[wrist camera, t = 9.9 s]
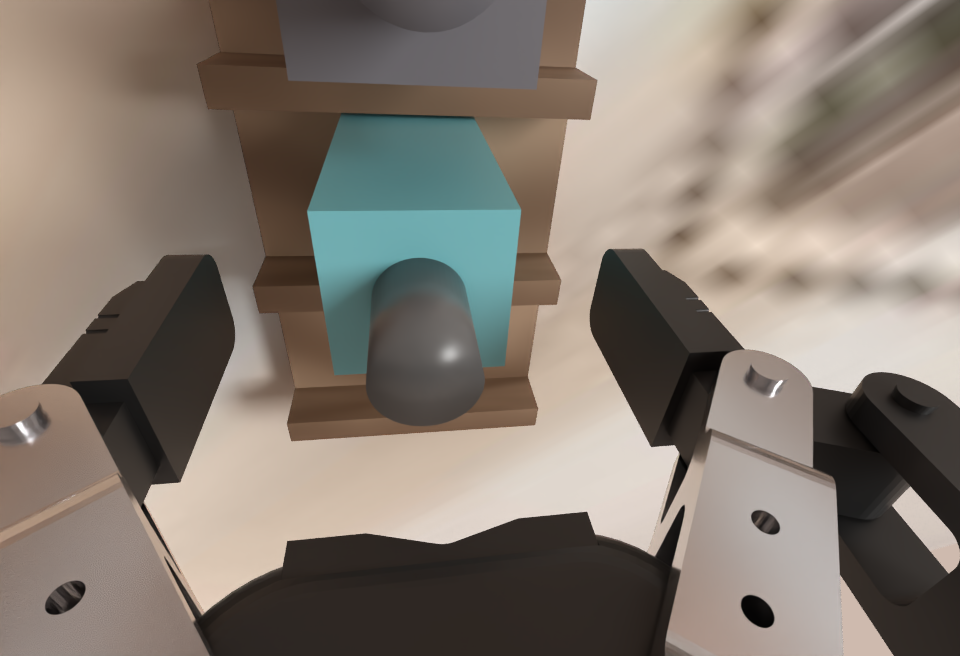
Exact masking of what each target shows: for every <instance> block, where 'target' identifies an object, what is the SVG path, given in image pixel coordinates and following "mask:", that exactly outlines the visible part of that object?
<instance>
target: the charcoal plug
mask: <svg viewBox="0 0 960 656" xmlns="http://www.w3.org/2000/svg"><path fill="white" fill-rule="evenodd" d="M276 4H277V11H278V17H279V24H280V30H281V37H282V43H283V49H284V56H285V62H286V69H287V75H288V81H313V82H341V83H368V84H395V85H423V86H450V87H477V88H505V89H532V90H537V82H538V73H539V65H540V56H541V47H542V39H543V30H544V21H545V13H546V4H547V0H276Z"/></svg>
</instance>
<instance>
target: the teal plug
mask: <svg viewBox="0 0 960 656" xmlns="http://www.w3.org/2000/svg"><path fill="white" fill-rule="evenodd" d="M307 213H308V219H309V225H310V231H311V238H312V244H313V250H314V256H315V262H316V268H317V274H318V280H319V286H320V292H321V298H322V304H323V310H324V316H325V322H326V328H327V334H328V340H329V346H330V352H331V358H332V364H333V370H334V375H349V374H366V392H367V396H368V398H369V400H370V402H371V404H372V405H373V406H374V408H375V409H376V410H377V411H378V412H379V413H381V414H382V415H383V416H385V417H386V418H388V419H390V420H392V421H395V422H398V423H401V424H405V425H410V426H433V425H439V424H443V423H446V422H449V421H451V420H454V419H456V418H458V417H460V416H462V415H463V414H465V413H466V412H467V411H468V410H470V409H471V408H472V407H473V406H474V405H475V404H476V402H477V401H478V400H479V398H480V396H481V394H482V392H483V389H484V384H485V376H484V371H483V367H498V366H505V359H506V349H507V340H508V330H509V321H510V312H511V302H512V293H513V283H514V274H515V264H516V255H517V246H518V236H519V227H520V217H521V208H520V206H519V204H518V202H517V200H516V198H515V196H514V194H513V192H512V191H511V189H510V187H509V185H508V183H507V181H506V179H505V177H504V175H503V173H502V171H501V169H500V167H499V165H498V163H497V161H496V159H495V157H494V155H493V154H492V152H491V150H490V148H489V146H488V144H487V142H486V140H485V138H484V136H483V134H482V132H481V130H480V128H479V126H478V124H477V122H476V120H475V118H474V117H473V116H437V115H401V114H365V113H341V116H340V119H339V122H338V124H337V127H336V130H335V133H334V136H333V139H332V142H331V144H330V147H329V150H328V153H327V156H326V159H325V162H324V164H323V167H322V170H321V173H320V176H319V179H318V182H317V184H316V187H315V190H314V193H313V196H312V199H311V202H310V205H309V207H308V210H307Z"/></svg>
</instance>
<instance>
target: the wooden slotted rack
mask: <svg viewBox="0 0 960 656" xmlns="http://www.w3.org/2000/svg"><path fill="white" fill-rule="evenodd" d="M209 3H210V8H211V12H212V17H213V21H214V26H215V30H216V35H217V39H218V44H219V48H220V52H219V53H217V54H216V55H214V56H212V57H210V58H208V59H206V60H204V61H202V62H200V63H198V64H197V67H198V71H199V75H200V79H201V83H202V87H203V91H204V95H205V99H206V103H207V107H208V109H221V110H233V111H234V116H235V120H236V125H237V129H238V134H239V138H240V143H241V147H242V152H243V156H244V160H245V165H246V169H247V174H248V178H249V183H250V187H251V192H252V196H253V201H254V205H255V210H256V214H257V219H258V223H259V228H260V232H261V237H262V241H263V246H264V250H265V255H266V257H265V260H264V262H263V264H262V267H261V269H260V271H259V273H258V276H257V278H256V280H255V283H254V285H253V290H254V294H255V298H256V302H257V306H258V310H259V313H279V318H280V322H281V326H282V331H283V335H284V340H285V344H286V349H287V353H288V358H289V362H290V367H291V371H292V376H293V380H294V385H295V392H294V396H293V400H292V405H291V409H290V413H289V417H288V422H287V426H288V430H289V434H290V438H291V441H302V440H317V439H332V438H347V437H362V436H377V435H392V434H407V433H423V432H438V431H453V430H468V429H483V428H498V427H513V426H528V425H535V423H536V417H537V411H538V407H537V404H536V401H535V398H534V394H533V391H532V388H531V385H530V382H529V379H528V371H529V365H530V358H531V352H532V345H533V339H534V332H535V326H536V319H537V313H538V306H539V305H556V304H557V301H558V295H559V290H560V284H561V279H560V277H559V275H558V273H557V271H556V269H555V267H554V265H553V264H552V262H551V260H550V258H549V256H548V254H547V248H548V242H549V235H550V229H551V222H552V216H553V209H554V203H555V197H556V190H557V184H558V177H559V171H560V164H561V158H562V151H563V145H564V138H565V132H566V125H567V119H581V120H590V118H591V113H592V107H593V102H594V96H595V91H596V85H597V80H596V79H594V78H592V77H591V76H589V75H587V74H586V73H584V72H582V71H580V70H579V69H577V68H575V67H576V61H577V54H578V48H579V41H580V35H581V29H582V22H583V16H584V9H585V3H586V0H547V4H546V13H545V21H544V30H543V39H542V47H541V56H540V65H539V73H538V82H537V90H532V89H505V88H477V87H450V86H423V85H395V84H368V83H341V82H313V81H288V75H287V69H286V62H285V56H284V49H283V43H282V37H281V30H280V24H279V17H278V11H277V4H276V0H209ZM341 113H365V114H401V115H437V116H473V117H474V118H475V120H476V122H477V124H478V126H479V128H480V130H481V132H482V134H483V136H484V138H485V140H486V142H487V144H488V146H489V148H490V150H491V152H492V154H493V155H494V157H495V159H496V161H497V163H498V165H499V167H500V169H501V171H502V173H503V175H504V177H505V179H506V181H507V183H508V185H509V187H510V189H511V191H512V192H513V194H514V196H515V198H516V200H517V202H518V204H519V206H520V208H521V217H520V227H519V236H518V246H517V255H516V264H515V274H514V283H513V293H512V302H511V312H510V321H509V330H508V340H507V349H506V359H505V366H498V367H483V371H484V376H485V384H484V389H483V392H482V394H481V396H480V398H479V400H478V401H477V402H476V404H475V405H474V406H473V407H472V408H471V409H470V410H468V411H467V412H466V413H465V414H463V415H462V416H460V417H458V418H456V419H454V420H451V421H449V422H446V423H443V424H439V425H433V426H410V425H405V424H401V423H398V422H395V421H392V420H390V419H388V418H386V417H385V416H383V415H382V414H381V413H379V412H378V411H377V410H376V409H375V408H374V406H373V405H372V404H371V402H370V400H369V398H368V396H367V392H366V374H349V375H334V370H333V364H332V358H331V352H330V346H329V340H328V334H327V328H326V322H325V316H324V310H323V304H322V298H321V292H320V286H319V280H318V274H317V268H316V262H315V256H314V250H313V244H312V238H311V231H310V225H309V219H308V213H307V210H308V207H309V205H310V202H311V199H312V196H313V193H314V190H315V187H316V184H317V182H318V179H319V176H320V173H321V170H322V167H323V164H324V162H325V159H326V156H327V153H328V150H329V147H330V144H331V142H332V139H333V136H334V133H335V130H336V127H337V124H338V122H339V119H340V116H341Z"/></svg>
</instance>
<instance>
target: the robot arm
mask: <svg viewBox="0 0 960 656" xmlns="http://www.w3.org/2000/svg"><path fill="white" fill-rule="evenodd" d="M590 327H591V331H592V334H593V337H594V339H595V341H596V342H597V344H598V346H599V348H600V350H601V352H602V354H603V356H604V358H605V360H606V362H607V363H608V365H609V367H610V369H611V371H612V373H613V375H614V377H615V379H616V381H617V383H618V385H619V386H620V388H621V390H622V392H623V394H624V396H625V398H626V400H627V402H628V404H629V406H630V407H631V409H632V411H633V413H634V415H635V417H636V419H637V421H638V423H639V425H640V427H641V428H642V430H643V432H644V434H645V436H646V438H647V440H648V442H649V444H650V446H651V447H657V446H669V445H675V446H676V448H677V450H678V451H679V454H678V456H677V458H676V460H675V463H674V465H673V469H672V472H671V475H670V479H669V482H668V486H667V489H666V493H665V496H664V499H663V503H662V506H661V510H660V513H659V517H658V520H657V523H656V527H655V530H654V534H653V537H652V540H651V543H650V546H649V548H648V551H647V552H645V551H643V550H641V549H639V548H637V547H635V546H632V545H630V544H627V543H625V542H622V541H620V540H616V539H612V538H609V537H605V536H601V535H595V533H594V530H593V528H592V525H591V522H590V519H589V516H588V513H587V512H580V513H570V514H560V515H550V516H540V517H529V518H519V519H516V520H513V521H510V522H508V523H505V524H502V525H499V526H497V527H494V528H491V529H489V530H486V531H483V532H480V533H478V534H475V535H472V536H469V537H467V538H464V539H461V540H459V541H456V542H453V543H449V544H434V543H427V542H420V541H414V540H407V539H400V538H393V537H386V536H380V535H373V534H356V535H346V536H335V537H325V538H315V539H305V540H295V541H287V546H286V552H285V557H284V563H283V567H281V568H278V569H275V570H273V571H270V572H268V573H266V574H264V575H262V576H260V577H258V578H256V579H253V580H251V581H250V582H248V583H246V584H245V585H243V586H241V587H240V588H238V589H236V590H235V591H233V592H231V593H230V594H229V595H227V596H226V597H225V598H223V599H222V600H221V601H219V602H218V603H216V604H215V605H214V606H212V607H211V608H210V609H209V610H208V611H207V612H205V613H204V611H203V609H202V608H201V606H200V604H199V602H198V601H197V599H196V597H195V595H194V594H193V592H192V590H191V588H190V586H189V584H188V583H187V581H186V579H185V577H184V575H183V573H182V571H181V569H180V568H179V566H178V564H177V562H176V560H175V558H174V556H173V554H172V552H171V551H170V549H169V547H168V545H167V543H166V541H165V539H164V537H163V536H162V534H161V532H160V530H159V528H158V526H157V524H156V522H155V520H154V519H153V517H152V515H151V513H150V511H149V509H148V508H147V506H146V504H145V503H144V499H145V497H146V495H147V493H148V490H149V488H150V486H151V485H153V484H166V483H178V482H180V481H181V479H182V476H183V474H184V471H185V469H186V466H187V464H188V461H189V459H190V456H191V454H192V451H193V449H194V446H195V444H196V441H197V439H198V436H199V434H200V431H201V429H202V426H203V424H204V421H205V419H206V416H207V414H208V411H209V409H210V406H211V404H212V401H213V399H214V396H215V394H216V391H217V389H218V386H219V384H220V381H221V379H222V376H223V374H224V371H225V369H226V366H227V364H228V361H229V359H230V356H231V354H232V351H233V348H234V343H235V327H234V321H233V317H232V314H231V311H230V307H229V304H228V301H227V298H226V294H225V291H224V288H223V284H222V281H221V278H220V274H219V271H218V268H217V265H216V263H215V261H214V259H213V258H212V256H210V255H166V256H164V257H163V258H162V259H161V260H160V262H159V263H158V264H157V266H156V267H155V268H154V270H153V271H152V272H151V274H150V275H149V276H148V278H147V279H146V280H145V281H137V282H135V283H134V284H132V285H131V286H129V287H128V288H126V289H124V290H123V291H121V292H120V293H118V294H117V295H115V296H113V297H112V298H111V300H110V301H109V302H108V303H107V305H106V306H105V307H104V308H103V309H102V311H101V312H100V313H99V314H98V319H94V321H93V322H92V323H91V324H90V325H89V327H88V328H87V329H86V334H82V335H81V337H80V338H79V339H78V340H77V342H76V343H75V344H74V345H73V346H72V348H71V349H70V350H69V351H68V353H67V354H66V355H65V356H64V358H63V359H62V360H61V361H60V362H59V364H58V365H57V366H56V367H55V369H54V370H53V371H52V372H51V374H50V375H49V376H48V377H47V379H46V380H45V381H44V382H43V383H42V385H35V386H29V387H25V388H21V389H17V390H14V391H11V392H8V393H6V394H3V395H1V396H0V656H843V637H842V612H841V590H840V575H841V577H842V578H843V580H844V581H845V582H846V584H847V586H848V587H849V588H850V590H851V592H852V593H853V594H854V596H855V598H856V599H857V601H858V602H859V604H860V605H861V607H862V608H863V610H864V611H865V613H866V614H867V616H868V617H869V619H870V620H871V622H872V623H873V625H874V626H875V628H876V629H877V631H878V632H879V634H880V636H881V637H882V639H883V640H884V642H885V643H886V645H887V646H888V648H889V649H890V651H891V652H892V654H893V655H894V656H960V561H959V564H958V566H957V567H956V568H955V569H954V570H953V571H952V572H950V573H949V574H948V573H947V571H946V570H945V569H944V568H943V566H942V565H941V564H940V563H939V562H938V561H937V559H936V558H935V557H934V556H933V554H932V553H931V552H930V551H929V550H928V548H927V547H926V546H925V545H924V544H923V542H922V541H921V540H920V539H919V538H918V536H917V535H916V534H915V533H914V532H913V531H912V529H911V528H910V527H909V526H908V525H907V523H906V522H905V521H904V520H903V519H902V517H901V516H900V515H899V514H898V513H897V511H896V510H895V509H894V508H893V507H892V504H893V503H894V502H895V501H896V500H897V499H898V498H899V497H900V496H901V495H902V494H903V493H904V492H905V491H906V490H907V489H908V488H909V487H910V486H911V487H912V489H913V490H914V491H915V492H916V493H917V494H918V495H919V496H920V497H921V498H922V500H923V501H924V502H925V503H926V504H927V505H928V506H929V507H930V508H931V510H932V511H933V512H934V513H935V514H936V515H937V516H938V517H939V518H940V520H941V521H942V522H943V523H944V524H945V525H946V526H947V527H948V528H949V530H950V531H951V532H952V533H953V535H954V537H955V538H956V540H957V543H958V545H959V549H960V408H959V407H958V406H957V405H956V404H954V403H953V402H952V401H951V400H950V399H948V398H947V397H946V396H944V395H943V394H941V393H940V392H938V391H937V390H935V389H933V388H931V387H930V386H928V385H926V384H924V383H921V382H919V381H917V380H914V379H912V378H909V377H906V376H902V375H898V374H893V373H886V372H877V373H871V374H869V375H867V376H865V377H864V378H863V380H862V381H861V383H860V384H859V385H858V387H857V388H856V390H855V391H854V392H853V394H851V393H845V392H839V391H834V390H828V389H822V388H816V387H812V386H811V383H810V382H809V380H808V379H807V377H806V376H805V375H804V374H803V373H802V372H801V371H800V370H798V369H797V368H796V367H794V366H793V365H792V364H790V363H788V362H787V361H785V360H783V359H781V358H779V357H776V356H774V355H771V354H768V353H765V352H761V351H756V350H745V349H744V348H743V347H742V346H741V345H740V344H739V342H738V341H737V340H736V339H735V338H734V337H733V336H732V335H731V333H730V332H729V331H728V330H727V329H726V328H725V327H724V326H723V324H722V323H721V322H720V321H719V320H718V319H717V318H716V317H715V315H714V314H713V313H712V312H709V309H708V308H707V306H706V305H705V304H704V303H703V302H702V301H701V300H698V296H697V295H696V294H695V293H694V292H693V291H692V289H691V288H690V287H689V286H688V285H687V284H686V283H685V282H684V281H682V280H680V279H679V278H677V277H675V276H674V275H672V274H671V273H669V272H667V271H666V270H662V269H661V268H660V267H659V266H658V265H657V264H656V262H655V261H654V260H653V259H652V258H651V257H650V255H649V254H648V253H647V252H646V251H645V250H644V249H609V250H607V251H606V252H605V254H604V256H603V258H602V262H601V266H600V270H599V275H598V279H597V283H596V287H595V292H594V296H593V300H592V304H591V309H590Z"/></svg>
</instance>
